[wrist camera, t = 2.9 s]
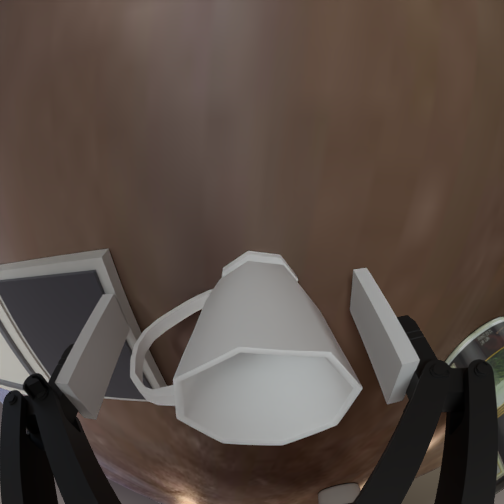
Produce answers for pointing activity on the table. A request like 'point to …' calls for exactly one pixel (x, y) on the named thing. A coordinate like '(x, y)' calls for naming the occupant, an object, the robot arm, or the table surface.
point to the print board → (15, 356)
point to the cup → (254, 359)
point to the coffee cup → (339, 494)
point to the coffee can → (500, 358)
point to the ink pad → (71, 311)
